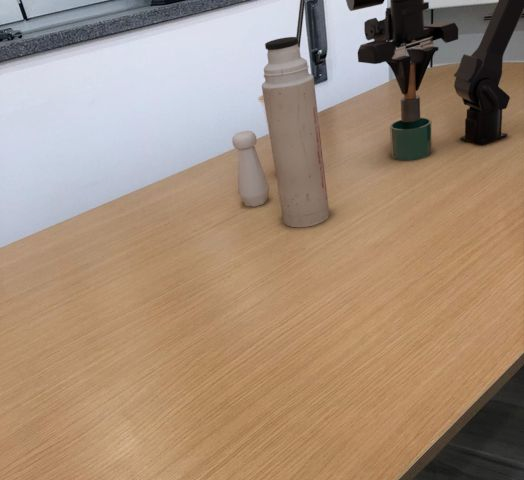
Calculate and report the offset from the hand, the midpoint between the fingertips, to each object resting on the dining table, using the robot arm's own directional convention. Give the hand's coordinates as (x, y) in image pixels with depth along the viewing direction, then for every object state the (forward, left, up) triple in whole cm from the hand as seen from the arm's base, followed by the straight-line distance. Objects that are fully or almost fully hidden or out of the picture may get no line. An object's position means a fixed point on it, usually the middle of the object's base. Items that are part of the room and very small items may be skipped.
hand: (410, 92), depth 114 cm
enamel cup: (0, -1, -12) cm, 12 cm away
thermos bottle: (+31, +10, -12) cm, 35 cm away
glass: (+20, -13, -12) cm, 26 cm away
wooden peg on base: (0, 0, -5) cm, 5 cm away
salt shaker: (+34, -4, -12) cm, 36 cm away
